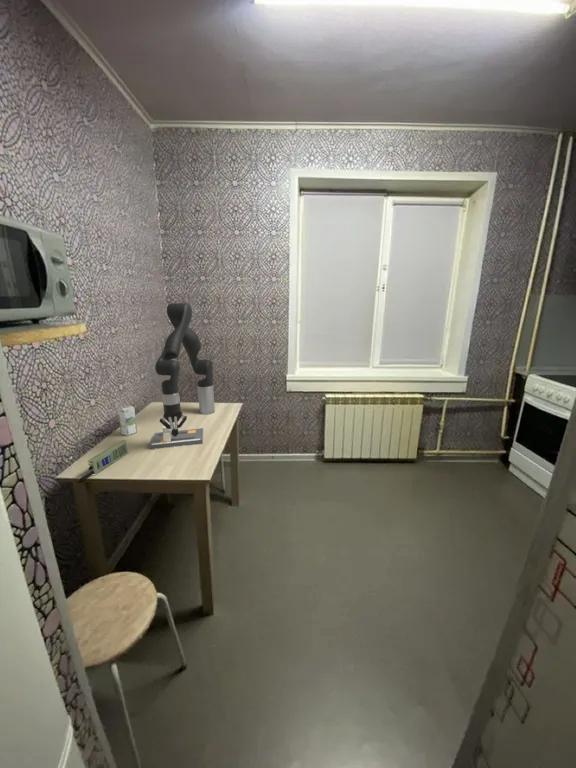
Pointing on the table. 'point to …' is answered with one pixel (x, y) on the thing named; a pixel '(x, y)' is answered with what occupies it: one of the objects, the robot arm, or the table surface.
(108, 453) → the handheld radio
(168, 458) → the table surface
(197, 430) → the switch panel
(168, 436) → the outer switch
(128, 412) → the syrup box
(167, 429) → the inner switch
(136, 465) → the table surface
